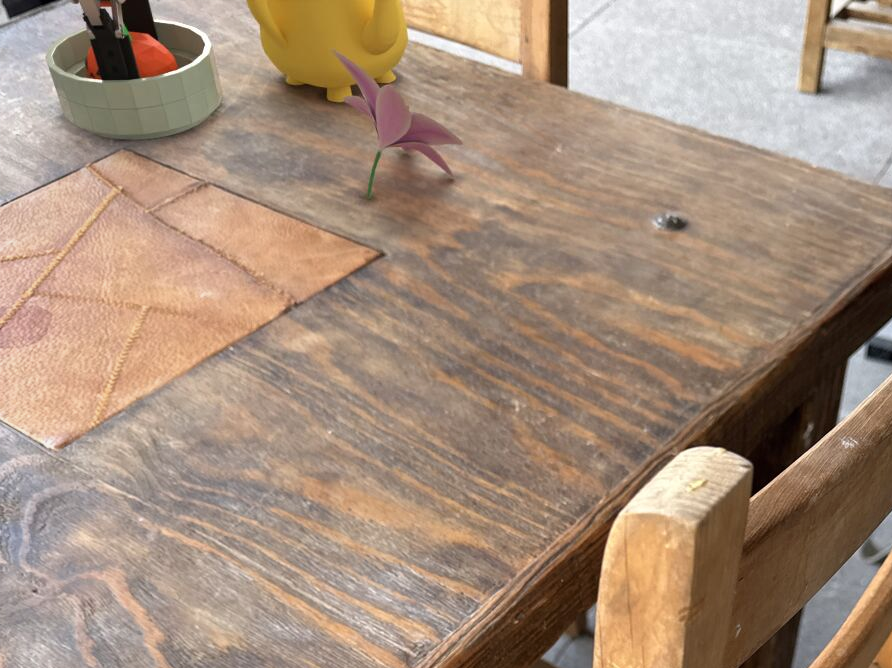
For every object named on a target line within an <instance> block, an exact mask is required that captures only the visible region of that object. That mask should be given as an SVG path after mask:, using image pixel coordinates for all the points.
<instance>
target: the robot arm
mask: <svg viewBox="0 0 892 668" xmlns="http://www.w3.org/2000/svg"><path fill="white" fill-rule="evenodd" d="M68 1H69V2H70V3H71V4H73V5H78V4H79V5H80V7H81V10H82V19H83V22H84V23H85V28H87V33H88V36H89V38H90V42H91V45H92V49H93V52H94V55H95V59H96V62H97V66H98V69H99V72H100V76H101V79H102V80H134V79H141V78H140V74H139V70H138V67H137V63H136V59H135V55H134V52H133V48H132V44H131V40H130V37H129V35H124V27H123V23H124V25H125V27H126V29H127V31H128V32H137V33H144V34H148V35H150V36H151V37H152V38H154V39H155V40H157V41H158V35H157V31H156V27H155V23H154V15H153V12H152V7H151V4H150V0H68ZM106 8H110V10H111V14H110V13H109V11H108V10H107V9H106ZM110 15H111V16H110Z"/></svg>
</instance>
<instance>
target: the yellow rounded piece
mask: <svg viewBox="0 0 892 668" xmlns="http://www.w3.org/2000/svg"><path fill="white" fill-rule="evenodd" d="M246 4H247V7H248V9H249V11H250V14H251V15H252V17H253V18H254V20H255V21H256V23H257V24H258V25H259V36H260V42H261V47H262V49H263V52H264V54H265V55H266V57H267V58H268V60H270V62H271V63H272V64H273V65H274V66H275V68H276V70H278V71H279V72H281V73H282V74H283V75H285V76H286V79H285V82H286V83H287V84H288V85H291V86H304V85H306V84H307V85H310V86H315V87H320V88H326V99H327V100H328V101H329V102H333V103H345V102H344V101H343V98H344V97H347V96H353V93H352V88H351V86H354V85H357V83H356V81H355V80H354V78H353V77H352V75H351V74H350V73H349V71H348V70H347V69H346V68H345V66H344V65H343V64H342V63H341V62H340V60H339V59H338V58H337V57H336V56H335V54H334V53H333V52H332V50H335V51H337V52H339V53H340V54H342V55H344V56H345V57H347V58H348V59H350V60H351V61H353V62H354V63H355V64H357V65H358V66H359V67H360V68H362V69H363V70H364V71H365V72H366V73H367V74H369V75H370V76H371V77H372V78H373V79H374V81H375V82H376V83H377V84H388V83H392V82H394V81H395V80H396V79H397V77H396V75H395V74H394V72H393V71H392V70H393V69H394V68H395V67H396V66H398V64H399V63H400V61H401V59H402V57H403V56H404V53H405V51H406V48H407V46H408V41H409V34H408V26H407V21H406V18H405V17H406V16H405V13H404V10H403V7H402V3H401V1H400V0H246ZM331 49H332V50H331Z"/></svg>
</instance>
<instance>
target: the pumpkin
mask: <svg viewBox="0 0 892 668" xmlns="http://www.w3.org/2000/svg"><path fill="white" fill-rule="evenodd" d="M123 27H124V35H129V37H130V40H131V44H132V48H133V52H134V55H135V59H136V63H137V67H138V70H139V74H140V78H148V77H154V76H158V75H162V74H165V73H169V72H172V71H176V70H178V67H177V64H176V61H175V58H174V56H173V55H172V54H171V53H170V52H169V51H168V50H167V49H166V48H165V47H164V46H163V45H162V44H160V43H159V42H158V41H157V40H155V39H154V38H152V37H151V36H150V35H148V34H144V33H137V32H128V31H127V29H126V27H125V25H124V23H123ZM85 66H86V70H87V76H88V78H89V79H97V80H102V79H101V76H100V72H99V69H98V66H97V62H96V59H95V55H94V52H93V49H92V46H91V47H90V49H89V50H88V57H87V58H86V60H85ZM87 76H86V77H87Z"/></svg>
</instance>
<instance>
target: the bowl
mask: <svg viewBox="0 0 892 668" xmlns="http://www.w3.org/2000/svg"><path fill="white" fill-rule="evenodd" d="M153 19H154V18H153ZM154 23H155V27H156V31H157V35H158V42H159V43H160V44H162V45H163V46H164V47H165V48H166V49H167V50H168V51H169V52H170V53H171V54H172V55H173V56H174V58H175V61H176V64H177V67H178V70H176V71H172V72H169V73H165V74H162V75H158V76H154V77H148V78H141V79H134V80H97V79H89V78H88V76H87V70H86V66H85V60H86V58H87V57H88V50H89V49H90V47H91V46H92V45H91V42H90V38H89V36H88V33H87V28H86V27H82V28H79V29H78V30H75V31H72V32H71V33H68V34H66V35H63V36H62V37H60V38H59V39H58V40H57V41H55V42H54V43H52V44H51V45H50V46H49V48H48V50H47V52H46V54H45V56H44V58H45V61H46V64H47V68H48V70H49V73H50V76H51V80H52V83H53V85H54V89H55V92H56V94H57V98H58V102H59V104H60V107H61V110H62V113H63V116H64V118H66V120H67V121H69V122H71V124H73V125H74V126H76V127H78V128H81V129H84V130H86V131H88V132H89V133H92V134H94V135H96V136H97V135H98V136H100V137H104V138H108V139H116V140H134V141H136V140H149V139H150V140H151V139H159V138H163V137H169V136H172V135H176V134H179V133H182V132H185V131H188V130H191V129H193V128H195V127H196V126H198V125H200V124H202V123H203V122H204V121H206V119H208V118H209V117H210V116H211V114H212V113H213V112H214V111H215V110H216V109H217V108H219V106H221V103H222V99H223V89H222V83H221V79H220V75H219V70H218V66H217V61H216V57H215V52H214V48H213V44H212V42H211V40H210V38H209V36H208V34H206V33H205V32H204V31H201V30H200V29H198V28H197V27H195V26H192V25H188V24H184V23H181V22H178V21H173V20H172V21H171V20H164V19H154ZM86 76H87V77H86Z"/></svg>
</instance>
